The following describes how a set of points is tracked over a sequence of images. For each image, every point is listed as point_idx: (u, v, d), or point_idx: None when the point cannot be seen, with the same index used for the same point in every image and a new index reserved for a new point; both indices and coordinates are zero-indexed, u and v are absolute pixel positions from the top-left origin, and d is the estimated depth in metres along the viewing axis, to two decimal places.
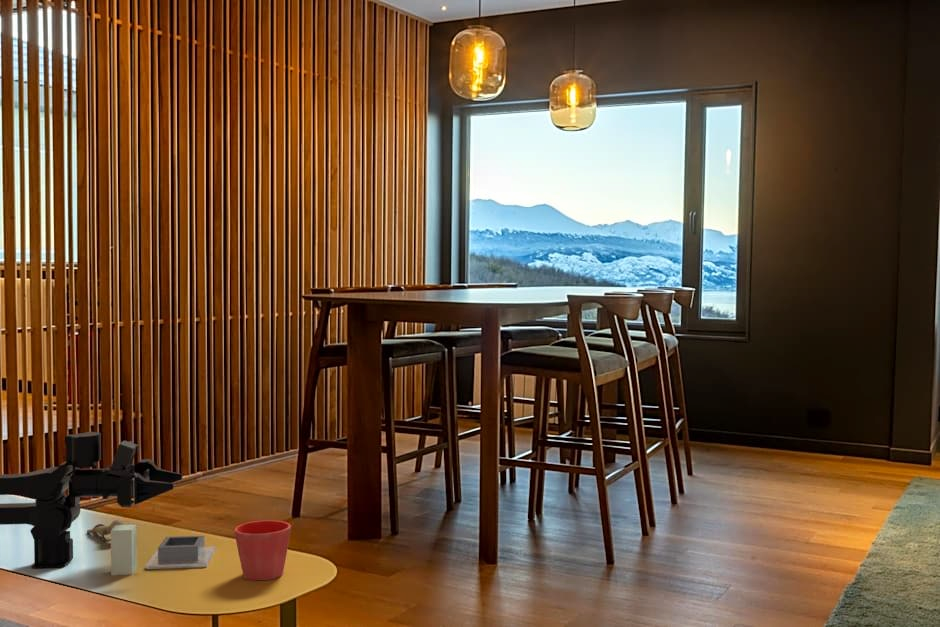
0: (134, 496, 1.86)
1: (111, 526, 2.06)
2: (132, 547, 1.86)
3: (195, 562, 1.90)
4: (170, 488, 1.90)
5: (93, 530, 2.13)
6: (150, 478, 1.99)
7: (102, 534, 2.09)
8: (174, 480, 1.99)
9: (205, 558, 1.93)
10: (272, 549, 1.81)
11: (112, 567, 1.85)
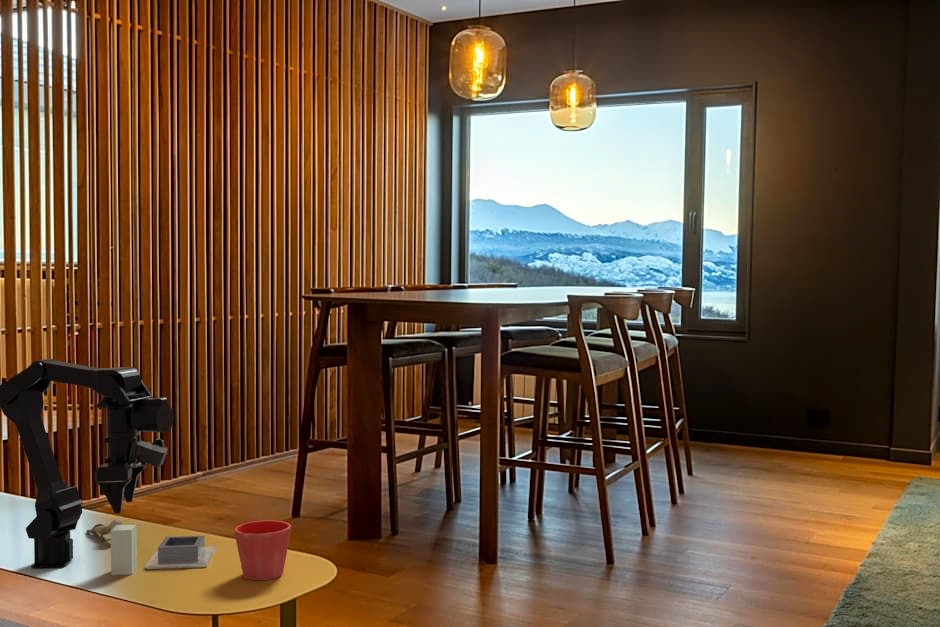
0: (106, 482, 1.78)
1: (110, 526, 2.06)
2: (132, 547, 1.86)
3: (195, 562, 1.90)
4: (115, 511, 1.82)
5: (92, 530, 2.13)
6: None
7: (101, 534, 2.09)
8: (125, 494, 1.91)
9: (205, 558, 1.93)
10: (272, 549, 1.81)
11: (112, 567, 1.85)
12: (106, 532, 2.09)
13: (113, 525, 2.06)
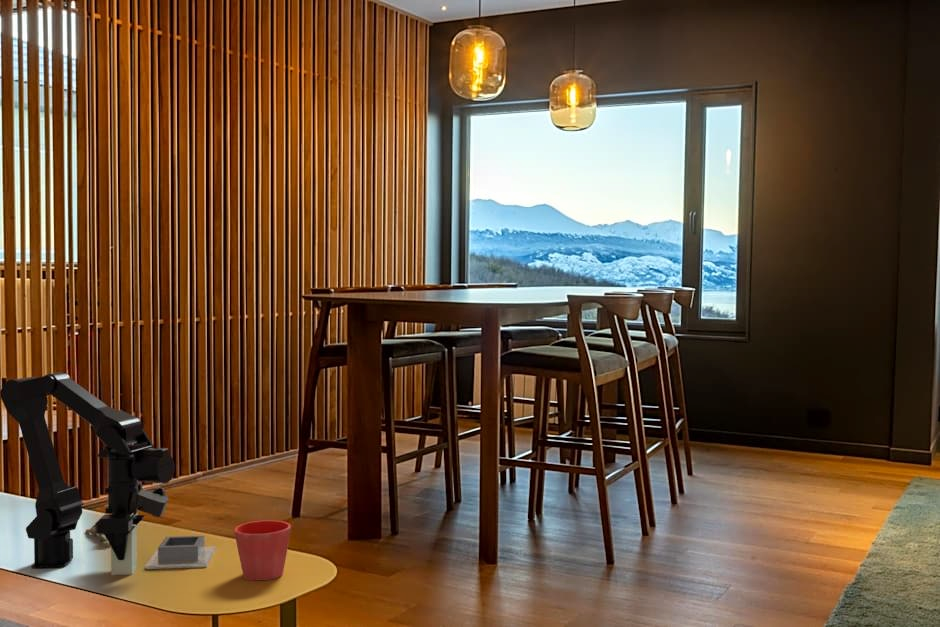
0: None
1: None
2: (132, 547, 1.86)
3: (195, 562, 1.90)
4: (118, 557, 1.85)
5: (91, 530, 2.13)
6: None
7: (99, 534, 2.09)
8: None
9: (205, 558, 1.93)
10: (272, 549, 1.81)
11: (112, 567, 1.85)
12: None
13: None
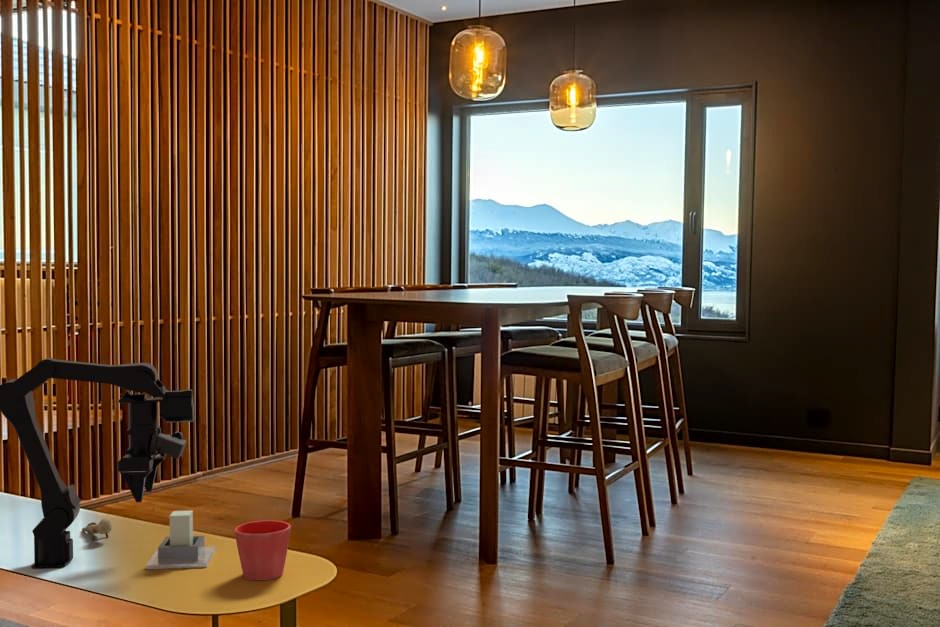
0: (128, 472, 1.87)
1: (98, 525, 2.07)
2: (190, 532, 1.94)
3: (195, 562, 1.90)
4: (136, 499, 1.91)
5: (86, 528, 2.14)
6: None
7: (91, 533, 2.10)
8: (145, 484, 2.00)
9: (205, 558, 1.93)
10: (272, 549, 1.81)
11: None
12: (96, 531, 2.10)
13: (101, 524, 2.06)
